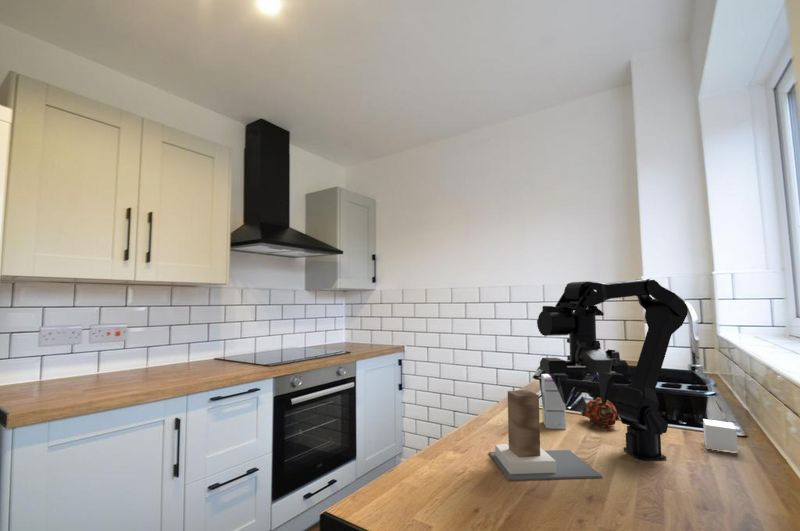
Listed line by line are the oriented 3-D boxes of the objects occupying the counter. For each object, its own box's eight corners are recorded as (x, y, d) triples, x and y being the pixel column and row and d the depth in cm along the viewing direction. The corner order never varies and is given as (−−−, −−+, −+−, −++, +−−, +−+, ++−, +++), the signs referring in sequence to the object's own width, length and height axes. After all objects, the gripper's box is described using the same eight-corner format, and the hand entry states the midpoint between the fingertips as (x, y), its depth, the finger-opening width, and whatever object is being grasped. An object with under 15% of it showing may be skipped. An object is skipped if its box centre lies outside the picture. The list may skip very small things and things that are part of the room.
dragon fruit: (613, 438, 110) (588, 431, 121) (633, 418, 112) (607, 413, 123) (593, 413, 111) (570, 407, 122) (613, 393, 113) (589, 390, 124)
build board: (569, 451, 97) (569, 439, 97) (602, 477, 83) (602, 463, 83) (488, 453, 95) (488, 441, 95) (508, 480, 81) (508, 466, 81)
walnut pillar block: (528, 447, 92) (527, 390, 93) (540, 455, 87) (538, 395, 88) (508, 448, 91) (507, 390, 92) (519, 457, 86) (517, 396, 87)
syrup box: (566, 429, 112) (565, 377, 114) (544, 428, 114) (543, 376, 115) (562, 423, 118) (561, 373, 119) (541, 422, 119) (540, 373, 120)
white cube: (704, 442, 103) (702, 418, 104) (734, 447, 100) (732, 422, 101) (706, 449, 98) (705, 424, 99) (738, 455, 95) (736, 429, 95)
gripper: (559, 338, 84) (561, 414, 83) (644, 338, 85) (647, 413, 84) (538, 333, 95) (539, 400, 94) (613, 334, 97) (615, 399, 95)
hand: (584, 403), depth 92 cm, fingers open, 9 cm apart
